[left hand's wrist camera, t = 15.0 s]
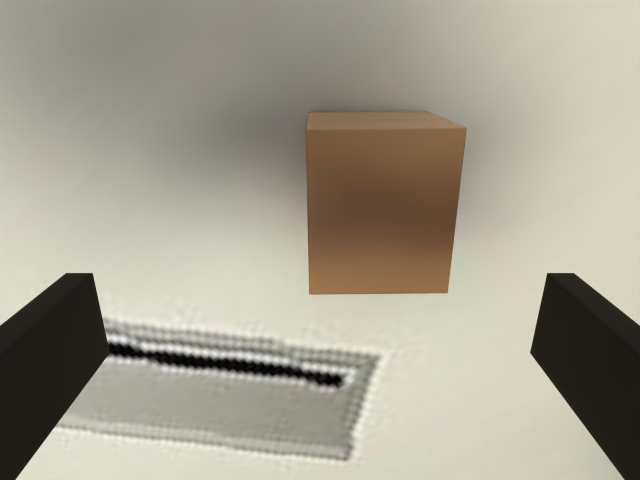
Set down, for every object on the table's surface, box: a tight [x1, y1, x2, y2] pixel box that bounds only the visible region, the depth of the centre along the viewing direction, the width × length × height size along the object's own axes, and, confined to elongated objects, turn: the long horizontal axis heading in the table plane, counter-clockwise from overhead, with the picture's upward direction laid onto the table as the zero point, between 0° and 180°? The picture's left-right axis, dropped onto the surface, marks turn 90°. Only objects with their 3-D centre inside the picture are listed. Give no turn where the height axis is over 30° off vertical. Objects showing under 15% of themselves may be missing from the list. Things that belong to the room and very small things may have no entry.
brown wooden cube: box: [306, 111, 466, 294], centre depth 26 cm, size 9×8×8 cm
